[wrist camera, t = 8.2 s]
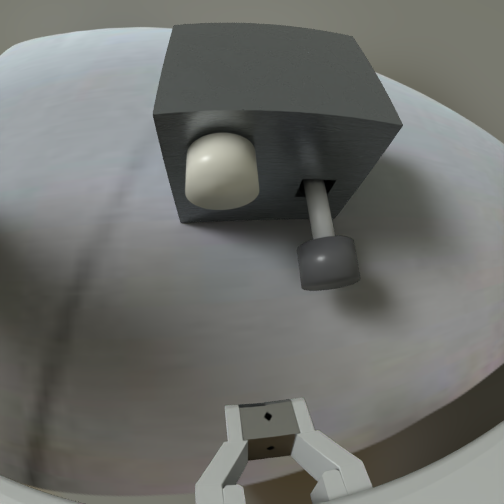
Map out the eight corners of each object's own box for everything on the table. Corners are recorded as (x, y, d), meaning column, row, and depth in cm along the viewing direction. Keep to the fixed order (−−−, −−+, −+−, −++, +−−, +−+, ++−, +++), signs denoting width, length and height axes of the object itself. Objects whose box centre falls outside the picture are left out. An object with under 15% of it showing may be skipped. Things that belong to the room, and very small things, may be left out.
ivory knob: (255, 208, 21) (263, 171, 16) (188, 211, 20) (181, 173, 16) (245, 109, 24) (250, 68, 20) (192, 110, 23) (189, 69, 19)
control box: (334, 218, 31) (403, 125, 17) (180, 222, 29) (152, 114, 15) (314, 133, 35) (352, 36, 21) (184, 132, 33) (173, 25, 19)
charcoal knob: (346, 288, 25) (370, 273, 20) (295, 292, 24) (311, 278, 20) (327, 186, 28) (344, 158, 24) (281, 185, 27) (291, 156, 23)
